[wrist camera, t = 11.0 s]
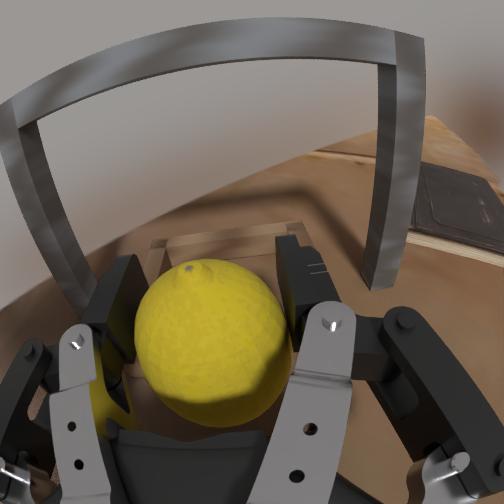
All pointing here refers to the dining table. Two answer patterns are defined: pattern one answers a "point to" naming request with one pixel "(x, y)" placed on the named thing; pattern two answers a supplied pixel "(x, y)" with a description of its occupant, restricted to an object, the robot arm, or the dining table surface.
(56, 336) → the dining table surface
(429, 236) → the hardcover book
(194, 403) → the lemon
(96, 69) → the keeper pocket
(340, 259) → the dining table surface
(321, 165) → the dining table surface
